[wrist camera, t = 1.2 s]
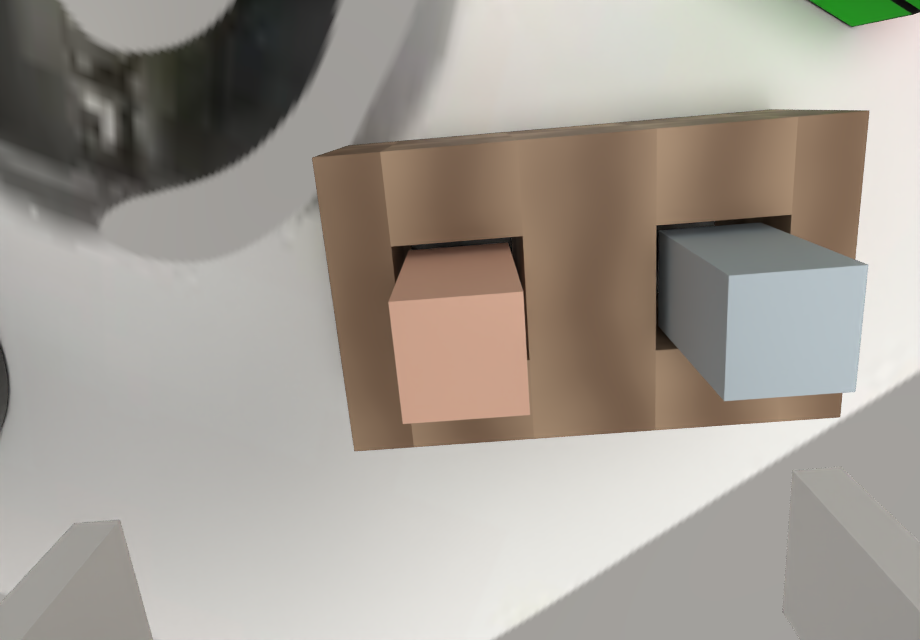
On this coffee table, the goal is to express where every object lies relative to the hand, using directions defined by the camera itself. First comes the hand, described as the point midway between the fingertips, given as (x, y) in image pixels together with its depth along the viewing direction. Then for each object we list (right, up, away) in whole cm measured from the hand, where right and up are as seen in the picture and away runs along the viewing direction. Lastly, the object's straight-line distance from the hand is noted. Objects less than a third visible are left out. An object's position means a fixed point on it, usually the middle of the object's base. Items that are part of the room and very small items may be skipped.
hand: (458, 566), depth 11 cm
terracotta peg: (0, +5, +17) cm, 17 cm away
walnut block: (+5, +7, +23) cm, 24 cm away
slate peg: (+10, +6, +16) cm, 20 cm away
